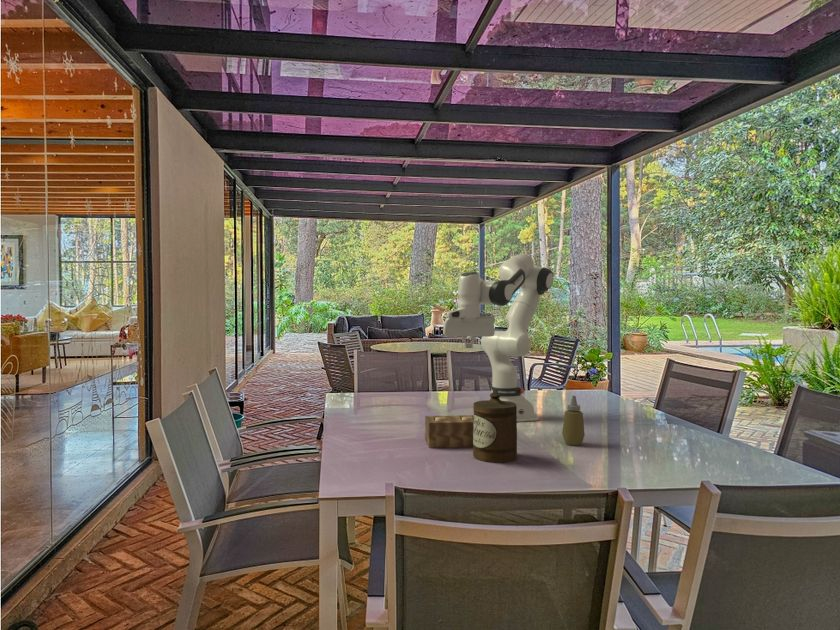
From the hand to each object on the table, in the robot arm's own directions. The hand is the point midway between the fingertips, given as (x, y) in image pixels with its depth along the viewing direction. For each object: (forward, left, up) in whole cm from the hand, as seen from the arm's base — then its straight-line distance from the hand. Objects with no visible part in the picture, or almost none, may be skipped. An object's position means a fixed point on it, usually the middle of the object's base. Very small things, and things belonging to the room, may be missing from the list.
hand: (468, 348), depth 229 cm
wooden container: (-3, +33, -34) cm, 48 cm away
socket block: (+8, +14, -34) cm, 38 cm away
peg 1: (+13, +14, -33) cm, 38 cm away
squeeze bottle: (-36, +19, -34) cm, 53 cm away
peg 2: (+3, +14, -33) cm, 36 cm away
